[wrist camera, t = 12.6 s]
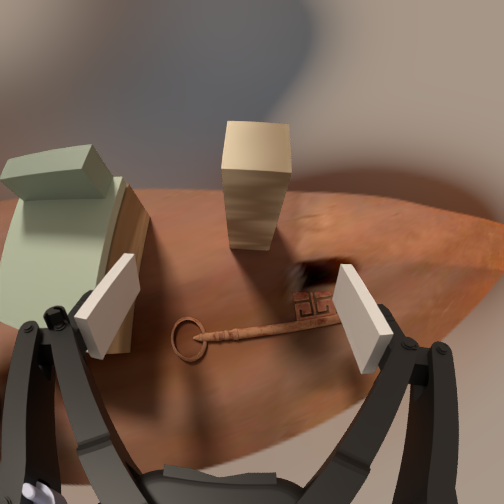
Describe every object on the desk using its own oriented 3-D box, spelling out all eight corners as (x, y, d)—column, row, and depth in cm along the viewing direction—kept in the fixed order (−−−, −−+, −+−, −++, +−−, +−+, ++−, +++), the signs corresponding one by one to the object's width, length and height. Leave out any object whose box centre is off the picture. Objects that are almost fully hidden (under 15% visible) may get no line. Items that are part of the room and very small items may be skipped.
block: (229, 248, 24) (221, 168, 13) (232, 213, 25) (227, 120, 14) (268, 250, 24) (291, 172, 13) (269, 215, 26) (289, 124, 14)
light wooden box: (37, 327, 21) (-1, 320, 15) (59, 214, 25) (31, 189, 19) (130, 352, 21) (97, 354, 15) (150, 216, 25) (128, 184, 19)
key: (332, 278, 25) (169, 297, 23) (335, 275, 24) (166, 295, 22) (344, 339, 22) (174, 362, 21) (348, 338, 22) (171, 362, 20)
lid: (-2, 319, 15) (-40, 309, 10) (30, 187, 19) (3, 160, 14) (95, 352, 15) (51, 352, 10) (127, 182, 19) (102, 142, 14)
